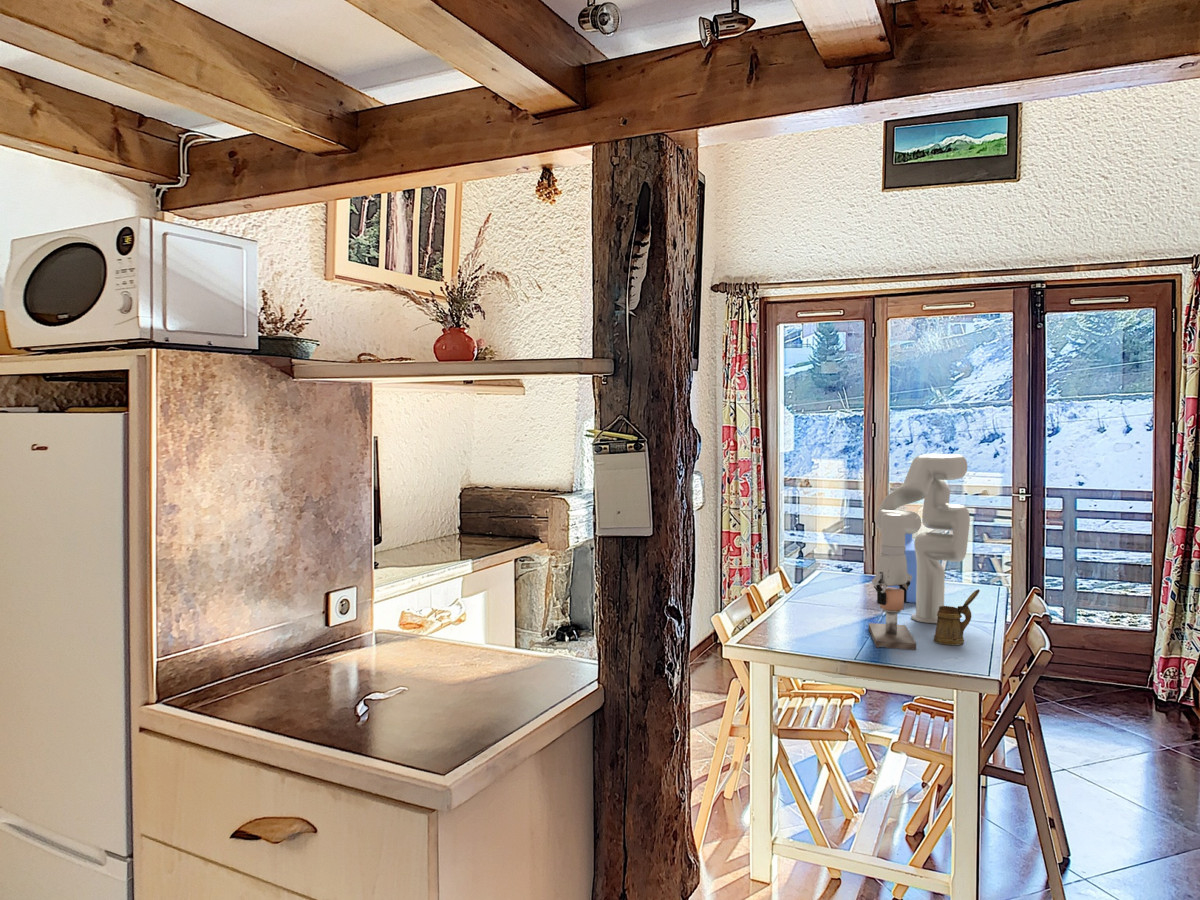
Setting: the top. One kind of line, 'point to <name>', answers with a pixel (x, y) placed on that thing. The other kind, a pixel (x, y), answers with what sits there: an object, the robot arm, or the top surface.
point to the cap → (894, 599)
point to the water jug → (910, 568)
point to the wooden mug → (953, 622)
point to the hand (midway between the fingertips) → (891, 602)
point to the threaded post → (891, 621)
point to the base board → (892, 637)
